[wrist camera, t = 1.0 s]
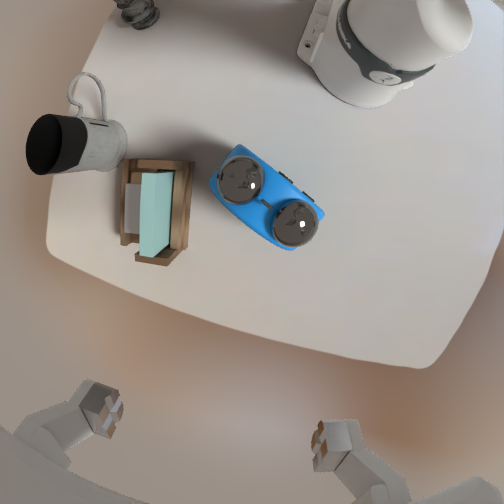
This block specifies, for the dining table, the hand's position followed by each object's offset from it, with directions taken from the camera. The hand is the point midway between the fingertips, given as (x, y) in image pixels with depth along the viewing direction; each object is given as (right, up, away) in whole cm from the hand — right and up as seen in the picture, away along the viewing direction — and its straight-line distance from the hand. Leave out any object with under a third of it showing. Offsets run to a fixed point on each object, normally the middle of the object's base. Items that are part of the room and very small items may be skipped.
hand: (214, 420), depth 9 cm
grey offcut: (-15, +13, +28) cm, 34 cm away
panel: (-10, +13, +29) cm, 34 cm away
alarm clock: (+4, +15, +29) cm, 33 cm away
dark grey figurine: (-16, +46, +21) cm, 53 cm away
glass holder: (-21, +26, +27) cm, 43 cm away
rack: (-13, +14, +31) cm, 36 cm away
